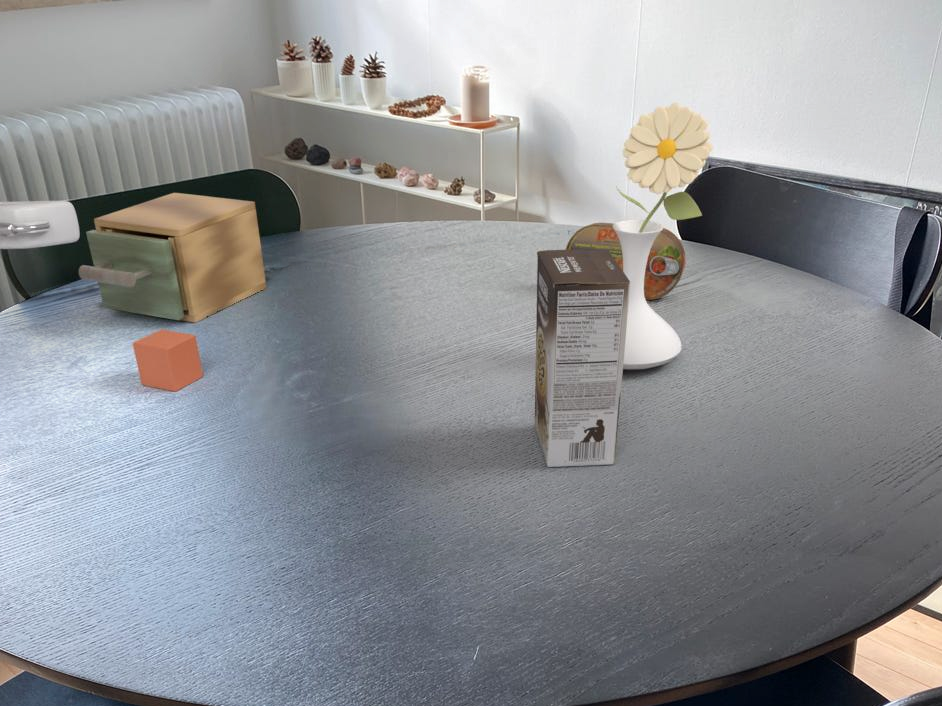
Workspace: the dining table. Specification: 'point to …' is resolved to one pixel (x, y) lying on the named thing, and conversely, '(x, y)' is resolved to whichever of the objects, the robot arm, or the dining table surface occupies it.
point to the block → (168, 360)
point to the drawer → (136, 272)
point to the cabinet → (203, 246)
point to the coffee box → (579, 355)
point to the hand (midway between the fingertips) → (22, 217)
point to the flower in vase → (660, 168)
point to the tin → (661, 262)
